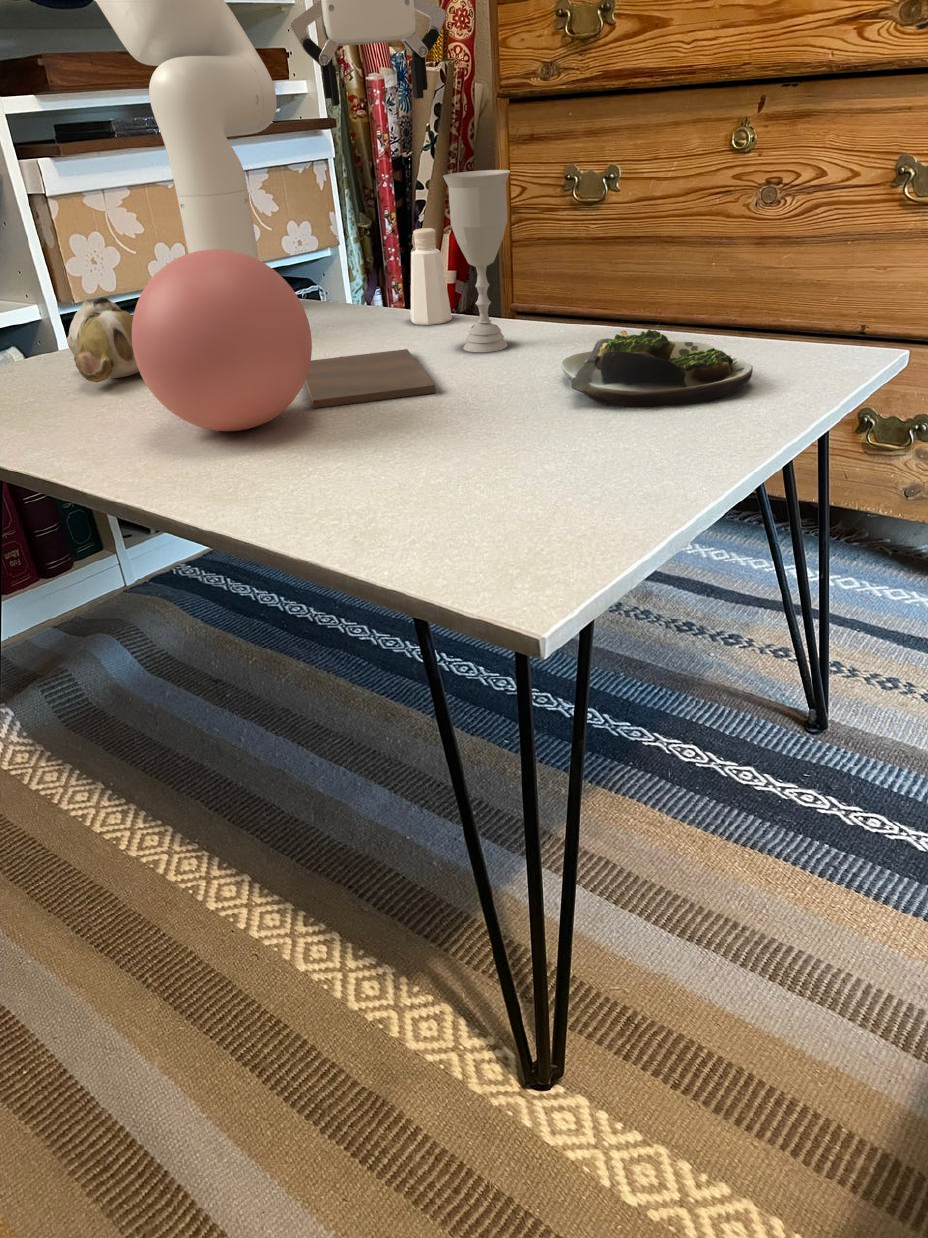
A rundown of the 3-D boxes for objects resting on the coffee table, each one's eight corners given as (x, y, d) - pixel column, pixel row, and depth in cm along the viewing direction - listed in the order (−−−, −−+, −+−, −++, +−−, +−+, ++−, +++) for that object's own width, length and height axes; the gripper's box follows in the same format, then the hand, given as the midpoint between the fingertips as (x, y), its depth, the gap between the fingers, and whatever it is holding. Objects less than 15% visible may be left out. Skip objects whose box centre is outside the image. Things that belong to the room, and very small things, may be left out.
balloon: (266, 383, 100) (240, 228, 93) (351, 427, 85) (328, 245, 78) (120, 415, 93) (79, 249, 86) (184, 468, 78) (142, 273, 71)
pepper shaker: (402, 321, 123) (393, 230, 118) (436, 313, 126) (429, 224, 120) (426, 327, 119) (418, 233, 114) (460, 319, 122) (454, 227, 116)
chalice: (480, 357, 104) (470, 177, 95) (442, 348, 109) (429, 176, 100) (529, 344, 108) (524, 170, 99) (490, 336, 113) (482, 169, 104)
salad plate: (529, 365, 100) (527, 320, 98) (689, 346, 102) (691, 302, 100) (583, 417, 83) (582, 365, 81) (773, 394, 86) (778, 342, 83)
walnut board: (301, 368, 105) (300, 361, 104) (408, 355, 107) (407, 348, 106) (313, 408, 91) (312, 400, 91) (435, 392, 93) (435, 384, 93)
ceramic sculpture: (126, 278, 111) (174, 302, 101) (143, 352, 116) (190, 382, 105) (33, 294, 106) (74, 321, 96) (54, 371, 111) (95, 404, 100)
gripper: (431, -80, 105) (445, 96, 113) (274, -70, 103) (300, 108, 111) (444, -93, 99) (457, 94, 107) (277, -83, 96) (304, 108, 104)
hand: (377, 101), depth 109 cm, fingers open, 9 cm apart
